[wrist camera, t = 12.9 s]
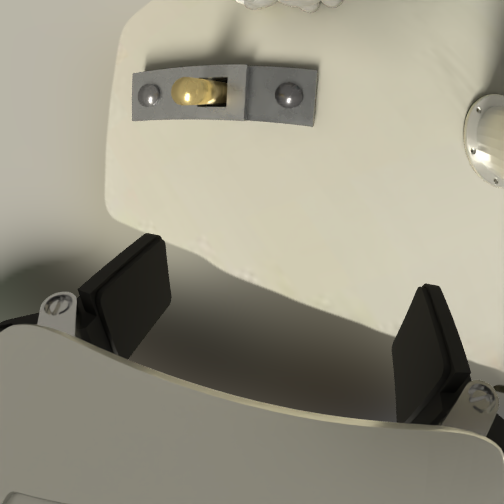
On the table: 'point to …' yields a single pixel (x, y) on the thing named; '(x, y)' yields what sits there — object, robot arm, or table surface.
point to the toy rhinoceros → (291, 4)
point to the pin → (198, 91)
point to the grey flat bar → (230, 94)
